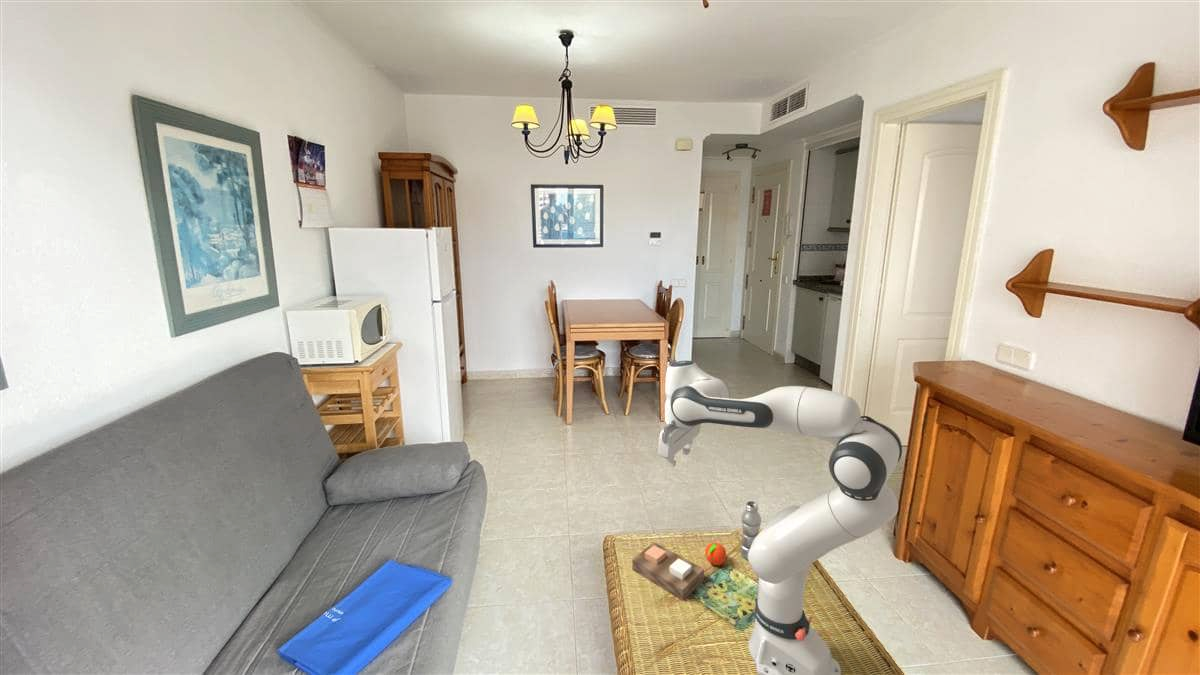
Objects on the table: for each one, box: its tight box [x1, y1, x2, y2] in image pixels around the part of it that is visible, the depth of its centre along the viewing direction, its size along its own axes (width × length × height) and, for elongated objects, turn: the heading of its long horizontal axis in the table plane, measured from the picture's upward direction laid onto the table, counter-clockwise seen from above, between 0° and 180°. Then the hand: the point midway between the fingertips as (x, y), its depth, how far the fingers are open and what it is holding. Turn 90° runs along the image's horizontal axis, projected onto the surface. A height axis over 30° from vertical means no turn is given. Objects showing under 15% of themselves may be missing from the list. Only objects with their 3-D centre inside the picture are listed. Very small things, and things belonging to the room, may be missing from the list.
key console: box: [631, 542, 705, 602], centre depth 156 cm, size 20×12×4 cm, turn 46°
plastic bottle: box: [739, 500, 762, 561], centre depth 162 cm, size 6×7×20 cm
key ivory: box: [669, 559, 692, 580], centre depth 152 cm, size 5×5×3 cm
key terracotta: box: [645, 545, 666, 565], centre depth 159 cm, size 5×5×3 cm
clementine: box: [704, 542, 727, 566], centre depth 160 cm, size 8×7×7 cm
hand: (679, 459), depth 139 cm, fingers open, 8 cm apart
